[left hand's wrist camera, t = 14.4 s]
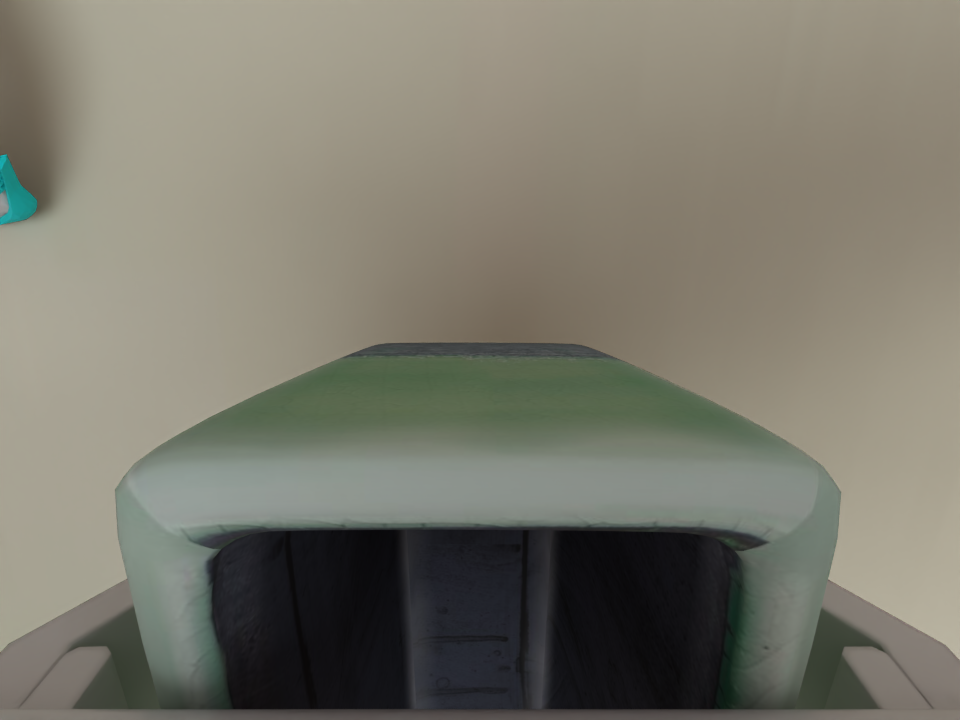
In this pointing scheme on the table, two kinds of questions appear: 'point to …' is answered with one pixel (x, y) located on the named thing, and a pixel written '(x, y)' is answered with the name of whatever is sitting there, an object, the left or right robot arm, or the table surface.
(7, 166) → the anatomical model
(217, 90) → the table surface
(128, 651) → the left robot arm
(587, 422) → the planter
